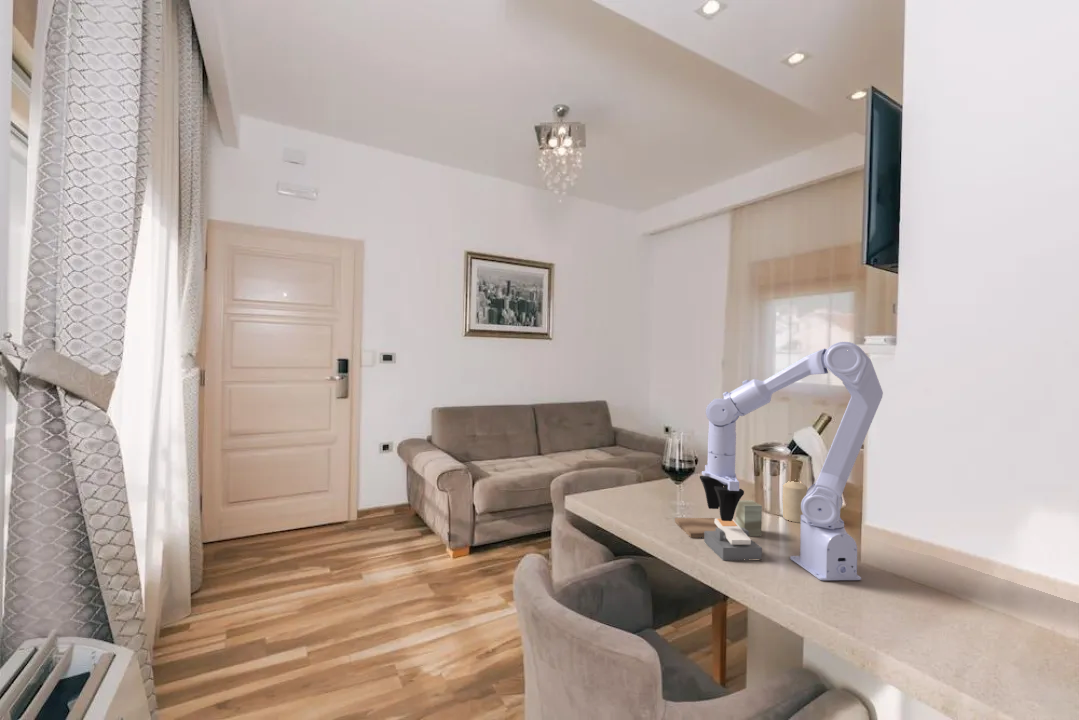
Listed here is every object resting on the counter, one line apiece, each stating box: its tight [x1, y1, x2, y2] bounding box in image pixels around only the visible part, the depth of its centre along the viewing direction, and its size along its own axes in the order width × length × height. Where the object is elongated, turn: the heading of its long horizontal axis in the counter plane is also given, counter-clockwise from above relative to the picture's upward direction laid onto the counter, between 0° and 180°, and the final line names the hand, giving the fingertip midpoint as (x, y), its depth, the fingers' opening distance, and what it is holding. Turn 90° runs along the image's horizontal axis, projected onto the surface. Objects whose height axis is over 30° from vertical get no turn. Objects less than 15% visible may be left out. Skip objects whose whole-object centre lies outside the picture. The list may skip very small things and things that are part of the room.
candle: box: [782, 480, 808, 524], centre depth 116 cm, size 6×6×10 cm
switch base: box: [703, 528, 763, 561], centre depth 95 cm, size 9×8×4 cm
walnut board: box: [674, 517, 718, 539], centre depth 107 cm, size 10×10×1 cm
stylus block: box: [735, 499, 763, 537], centre depth 106 cm, size 4×4×7 cm
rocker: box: [714, 517, 752, 545], centre depth 95 cm, size 8×4×1 cm, turn 3°
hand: (719, 514), depth 99 cm, fingers open, 7 cm apart
